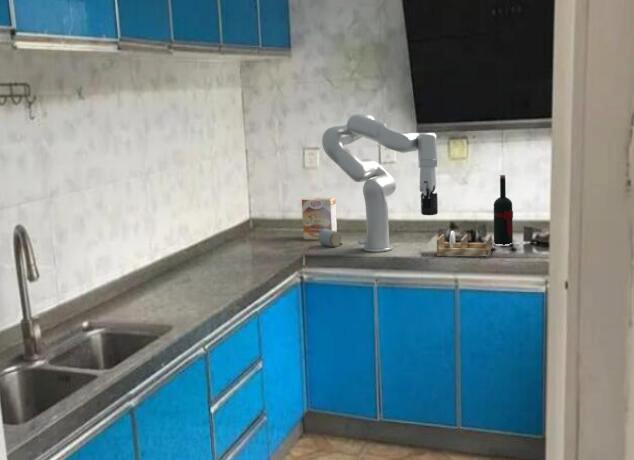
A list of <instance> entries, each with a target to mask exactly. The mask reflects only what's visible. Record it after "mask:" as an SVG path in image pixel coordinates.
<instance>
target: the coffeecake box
mask: <svg viewBox="0 0 634 460" xmlns="http://www.w3.org/2000/svg"><path fill="white" fill-rule="evenodd" d="M336 204H337V203H336V197H304V198H302V199H301V212H302V214H301V215H302V231H303V232H302V233H303V240H318V241H319V234H320V232H321V231H322V230H323V229H329V230H332V231H336V232H338V227H337V226H338V225H337V205H336Z"/></svg>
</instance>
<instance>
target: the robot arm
mask: <svg viewBox="0 0 634 460" xmlns="http://www.w3.org/2000/svg"><path fill="white" fill-rule="evenodd" d="M362 138H365V139H368V140H371V141H373V142H376V143H378V144H379V145H380V146H382V147H383V148H386V149H389V150H392V151H395V152H398V153H403V154H405V153H406V154H407V153H409V152H416V151H417V154H418V155H417V156H418V161H417V162H418V168H419V191H420V192H421V193H422V192H423V208H431V198H430V192H431V191H433V186H434V185H435V189H436V187H437V176H436V168H437V167H438V151H437V150H438V149H437V148H438V147H437V135H436V134H435V133H434V132H423V133H419V132H409V133H401V132H396V131H393V130H392V129H389V128H388V127H387V124H386V123H385V122H383V121H379V120H377V119H375V118H374V117H373V116H372V115H371V114H369V113H359V114H358V113H357V114H354V115H351V116H350V117H349V118H348V119H347V122H346V124H345V125H337V126H332V127H329V128H327V129H326V130H325V131H324V133H323V134H322V138H321V143H322V145H321V146H322V148H323V151H324V153H325V155H327V156H328V157H329V159H330V160H332V162H334V163H335V164H336V165H337V166H338V167H339V168H340V169H341V170H342V171H343V172H344V173H345V174H346V175H347V176H348V177H349V178H350V179H352V180H353V181H354V182H355V183H362V182H364V184H363V186H362V192H363V199H364V203H365V220H366V222H365V224H366V238H365V239H358V241H357V243H358V245H364V247H363V250H364V251H366V252H372V253H373V252H374V253H379V252H380V253H381V252H389V251H392V250H393V249H394V245H392V244H390V234H389V233H390V231H389V226H390V225H389V224H390V223H389V206H388V203H387V202H388V201H387V198H386V197H388V196H392V195H393V193H395V191H396V188H397V185H396V184H397V183H396V181H395V179H394V177H393V176H392V175H391V174H390V173H389V172H388V171H386V169H385V168H383V166H381V165H380V164H379V163H378V162H376V161H375V160H373V159H371V158H364V159H362V158H359V157H358V156H357V155H356V154H355V153H354V152H353V151H351V150H350V149H348V148H347V147H346V146H347V145H350V144H352V143H354V142H356V141H358V140H360V139H362ZM427 190H429V191H427ZM428 193H429V194H428Z"/></svg>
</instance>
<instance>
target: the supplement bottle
mask: <svg viewBox="0 0 634 460" xmlns="http://www.w3.org/2000/svg"><path fill="white" fill-rule="evenodd" d="M435 190H436V188H435V185H434V186H433V191H431V192H430V198H431V208H423V192H421V193H420V213H421V215H423V216H436V215H438V213H439V212H438V211H439V208H438V207H439V205H438V192H437V191H435ZM427 191H429V190H427ZM428 194H429V193H428Z"/></svg>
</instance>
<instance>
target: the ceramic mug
mask: <svg viewBox="0 0 634 460" xmlns="http://www.w3.org/2000/svg"><path fill="white" fill-rule="evenodd" d="M318 241H319V242H318V243H320V245H322V246H323V245H324V246H325V247H330V248H337V247H338V246H340V245H343V244H344V240H342V236H341V233H340V232H338V231H337V232H336V231H332V230H329V229H323V230H322V231H321V232H320V234H319V240H318Z"/></svg>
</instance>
